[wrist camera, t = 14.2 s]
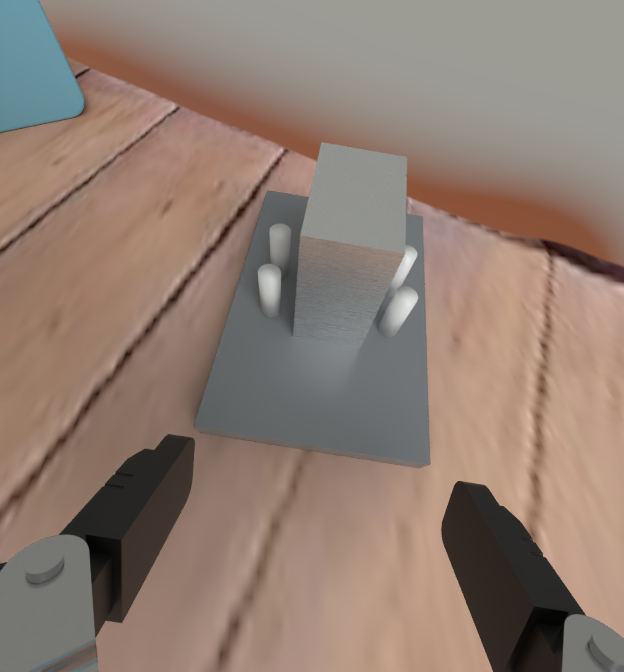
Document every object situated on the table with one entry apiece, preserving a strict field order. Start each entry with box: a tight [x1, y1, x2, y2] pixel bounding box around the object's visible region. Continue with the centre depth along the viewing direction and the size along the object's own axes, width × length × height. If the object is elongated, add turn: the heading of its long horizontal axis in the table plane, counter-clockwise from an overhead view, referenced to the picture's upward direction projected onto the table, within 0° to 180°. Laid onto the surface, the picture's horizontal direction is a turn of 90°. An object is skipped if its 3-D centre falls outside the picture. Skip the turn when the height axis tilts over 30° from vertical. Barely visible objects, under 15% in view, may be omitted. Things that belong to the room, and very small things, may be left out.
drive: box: [293, 143, 407, 348], centre depth 17 cm, size 4×6×8 cm
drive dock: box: [194, 190, 430, 468], centre depth 20 cm, size 12×18×5 cm, turn 172°
